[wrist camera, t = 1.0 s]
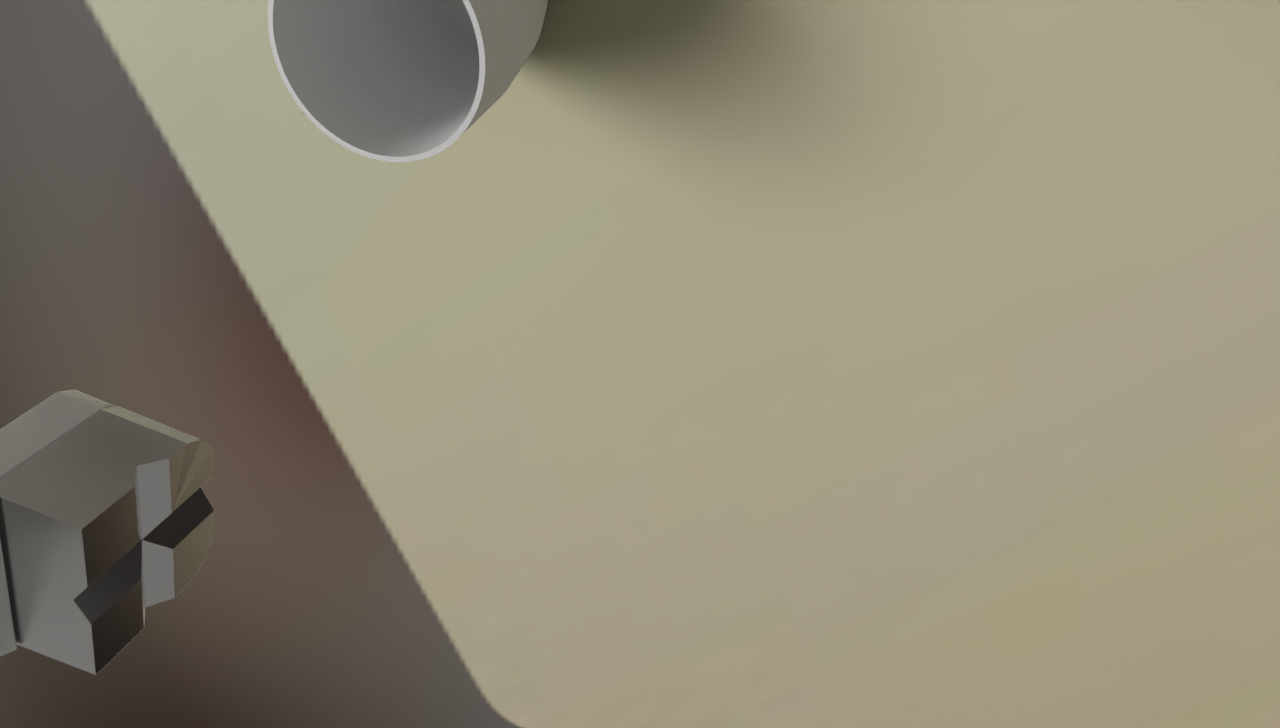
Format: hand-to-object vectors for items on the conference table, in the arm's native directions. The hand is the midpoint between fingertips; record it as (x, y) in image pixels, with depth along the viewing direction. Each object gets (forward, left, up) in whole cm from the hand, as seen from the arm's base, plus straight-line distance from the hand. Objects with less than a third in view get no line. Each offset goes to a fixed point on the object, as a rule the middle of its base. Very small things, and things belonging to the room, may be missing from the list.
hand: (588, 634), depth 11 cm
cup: (-3, -17, -37) cm, 41 cm away
